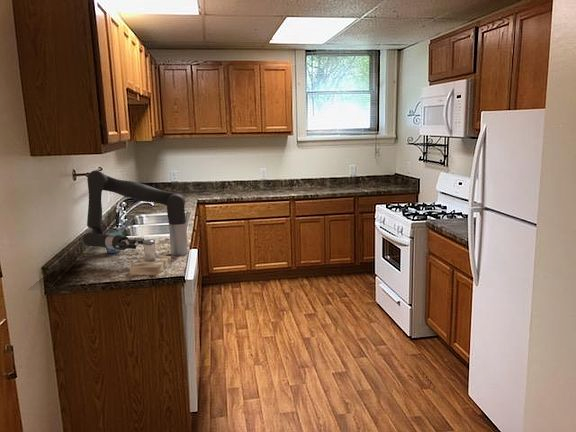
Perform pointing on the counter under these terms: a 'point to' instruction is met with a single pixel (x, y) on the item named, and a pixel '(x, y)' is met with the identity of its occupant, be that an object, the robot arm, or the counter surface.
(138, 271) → the stand
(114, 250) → the snack cup
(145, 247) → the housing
